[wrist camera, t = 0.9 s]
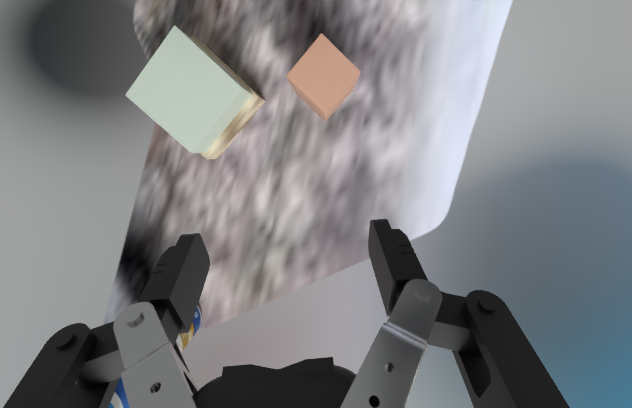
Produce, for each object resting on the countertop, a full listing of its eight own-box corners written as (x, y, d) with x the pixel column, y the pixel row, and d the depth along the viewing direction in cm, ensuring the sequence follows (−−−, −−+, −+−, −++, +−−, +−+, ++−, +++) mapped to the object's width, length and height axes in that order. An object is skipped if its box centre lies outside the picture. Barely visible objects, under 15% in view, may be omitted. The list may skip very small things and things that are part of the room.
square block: (323, 63, 36) (321, 32, 26) (352, 91, 36) (360, 72, 27) (297, 94, 37) (285, 76, 27) (325, 121, 37) (324, 113, 28)
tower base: (206, 46, 36) (192, 34, 33) (265, 101, 38) (258, 96, 34) (161, 107, 38) (142, 103, 34) (219, 158, 39) (207, 159, 35)
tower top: (192, 39, 33) (174, 25, 29) (252, 94, 34) (242, 88, 30) (148, 100, 34) (125, 95, 30) (206, 152, 35) (191, 153, 31)
